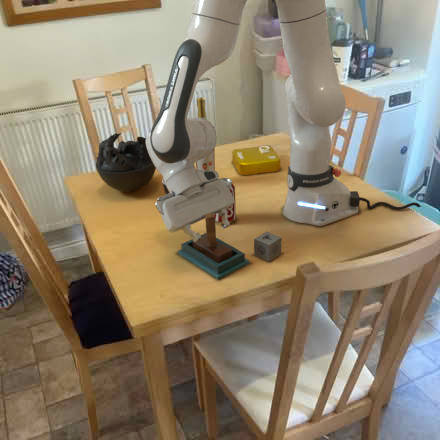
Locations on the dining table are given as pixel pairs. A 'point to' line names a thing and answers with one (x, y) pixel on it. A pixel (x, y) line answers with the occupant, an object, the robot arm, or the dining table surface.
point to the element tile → (256, 160)
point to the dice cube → (267, 246)
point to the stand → (209, 264)
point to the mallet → (212, 243)
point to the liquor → (209, 160)
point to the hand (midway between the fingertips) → (212, 233)
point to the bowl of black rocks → (125, 164)
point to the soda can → (232, 210)
